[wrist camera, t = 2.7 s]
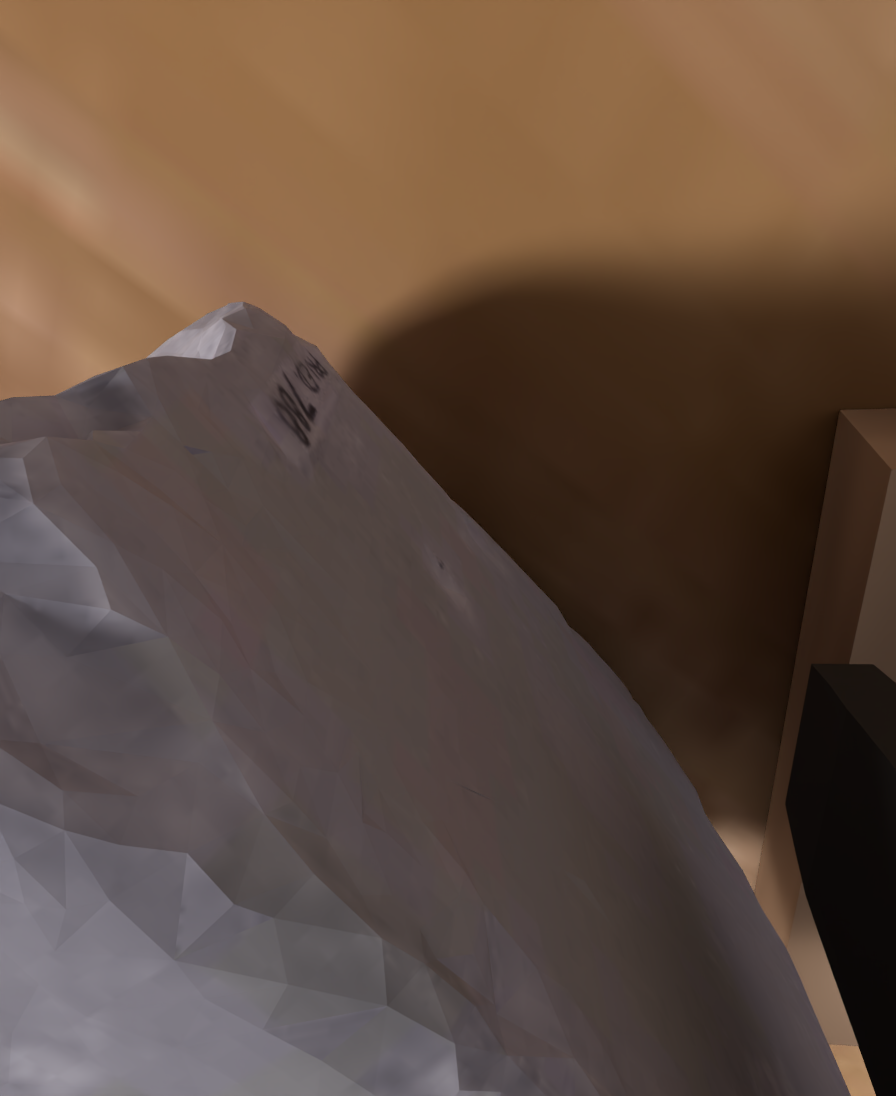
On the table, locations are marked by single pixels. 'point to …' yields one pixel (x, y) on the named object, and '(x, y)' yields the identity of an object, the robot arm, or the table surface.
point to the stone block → (333, 777)
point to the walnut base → (835, 638)
